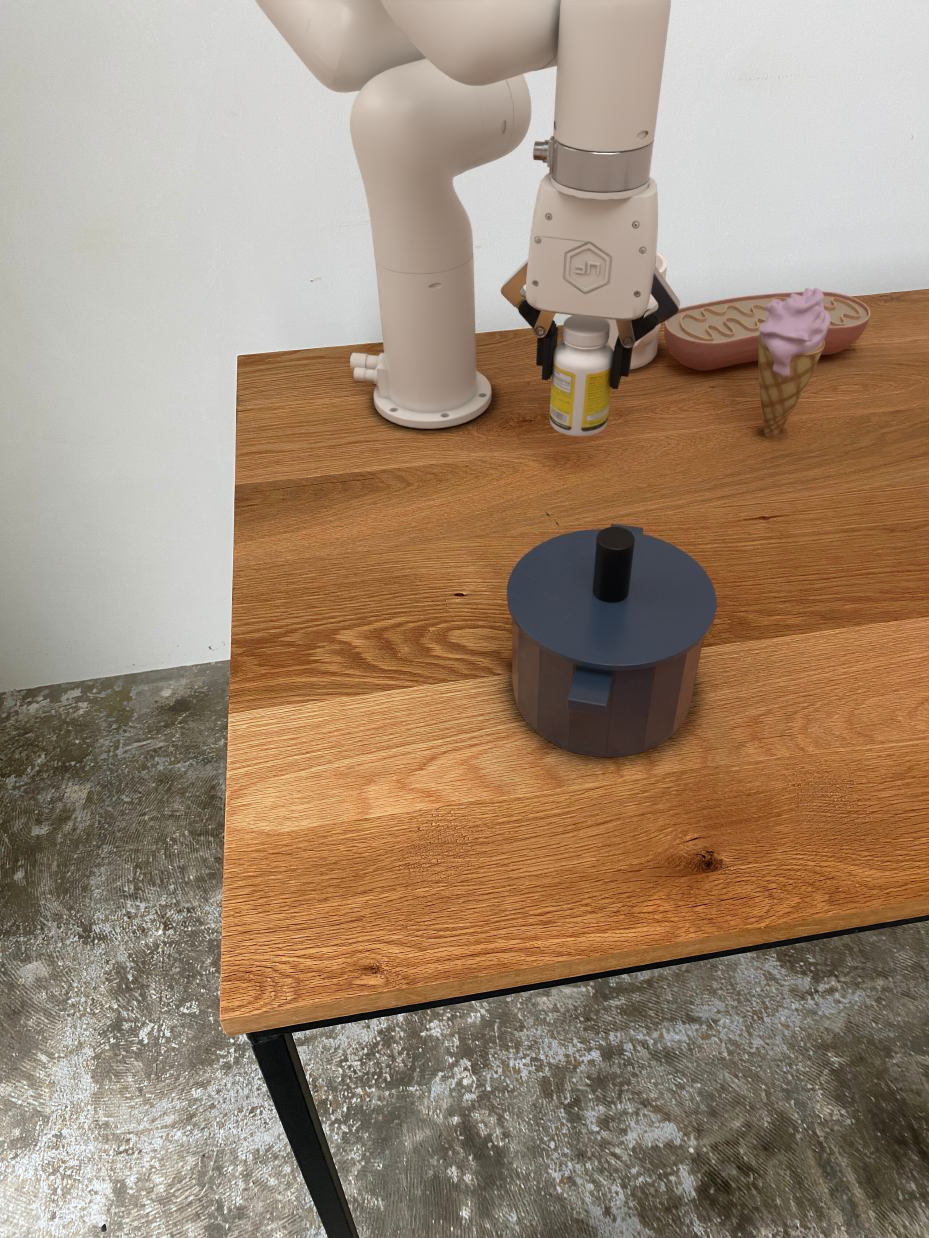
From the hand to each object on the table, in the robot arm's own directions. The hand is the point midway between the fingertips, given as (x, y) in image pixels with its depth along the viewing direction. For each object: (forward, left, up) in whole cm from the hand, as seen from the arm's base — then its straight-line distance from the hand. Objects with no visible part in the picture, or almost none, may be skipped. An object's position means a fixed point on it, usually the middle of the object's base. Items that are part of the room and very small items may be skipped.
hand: (582, 375), depth 83 cm
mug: (+1, +24, -10) cm, 26 cm away
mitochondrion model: (+16, +26, -10) cm, 32 cm away
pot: (+7, -28, -10) cm, 31 cm away
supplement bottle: (0, 0, -5) cm, 5 cm away
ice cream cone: (+18, +10, -10) cm, 22 cm away
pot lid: (+7, -28, -1) cm, 29 cm away
